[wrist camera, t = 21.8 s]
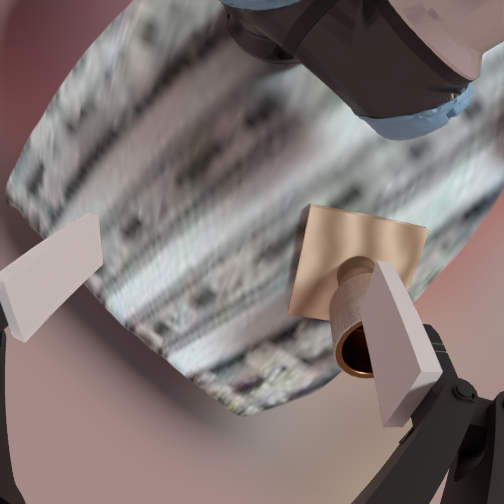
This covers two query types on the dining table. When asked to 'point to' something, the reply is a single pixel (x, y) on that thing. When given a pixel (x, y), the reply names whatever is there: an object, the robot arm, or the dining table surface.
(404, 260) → the square base plate
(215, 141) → the dining table surface
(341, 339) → the planter
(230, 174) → the dining table surface
